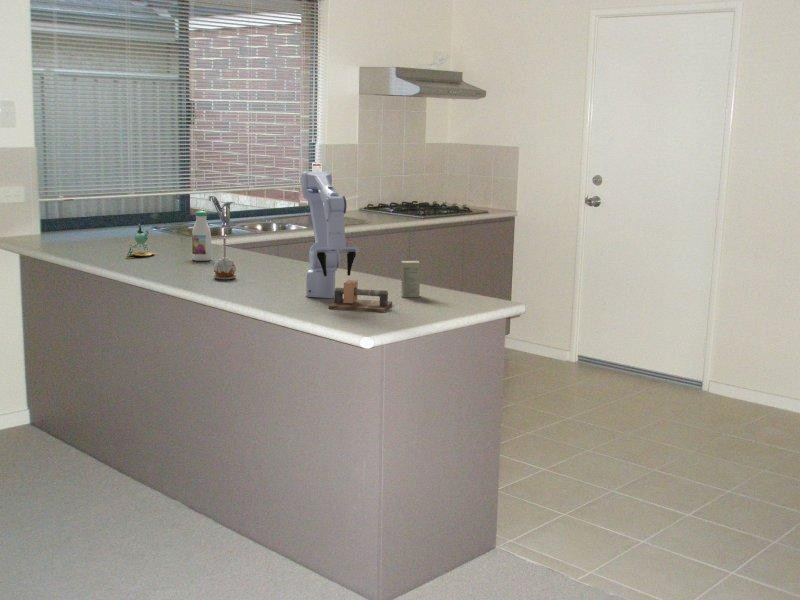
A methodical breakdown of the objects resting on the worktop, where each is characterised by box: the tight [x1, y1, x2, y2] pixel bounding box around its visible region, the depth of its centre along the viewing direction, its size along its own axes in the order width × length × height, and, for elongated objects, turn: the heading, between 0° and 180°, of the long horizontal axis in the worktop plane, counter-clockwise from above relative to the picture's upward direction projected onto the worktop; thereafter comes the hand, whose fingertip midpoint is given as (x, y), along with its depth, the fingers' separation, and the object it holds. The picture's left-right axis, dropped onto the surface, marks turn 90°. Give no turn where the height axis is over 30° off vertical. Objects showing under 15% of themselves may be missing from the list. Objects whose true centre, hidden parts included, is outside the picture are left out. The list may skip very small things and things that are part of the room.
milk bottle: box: [191, 210, 212, 262], centre depth 387 cm, size 8×8×20 cm
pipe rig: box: [328, 287, 393, 313], centre depth 303 cm, size 18×13×6 cm
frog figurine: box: [125, 223, 157, 260], centre depth 393 cm, size 10×18×15 cm, turn 144°
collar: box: [343, 279, 359, 303], centre depth 303 cm, size 3×6×6 cm, turn 169°
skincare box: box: [401, 260, 421, 298], centre depth 322 cm, size 6×4×12 cm
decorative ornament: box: [213, 237, 237, 281], centre depth 346 cm, size 8×8×15 cm
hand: (337, 275), depth 303 cm, fingers open, 7 cm apart
